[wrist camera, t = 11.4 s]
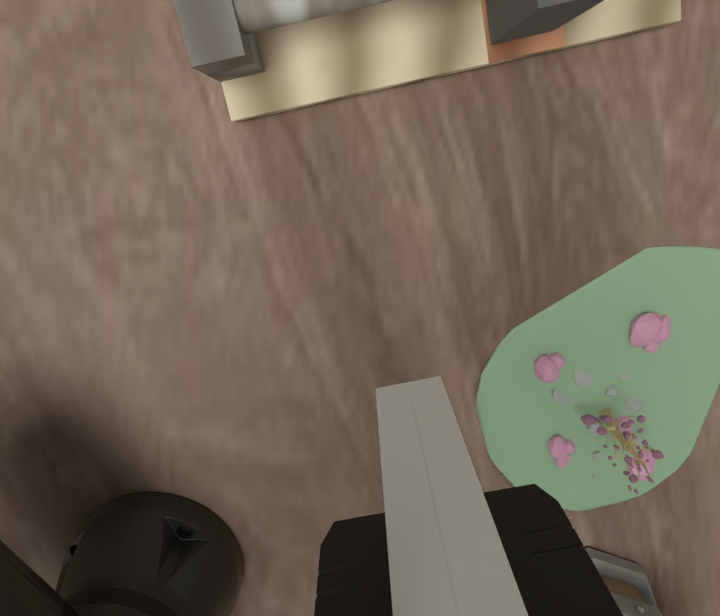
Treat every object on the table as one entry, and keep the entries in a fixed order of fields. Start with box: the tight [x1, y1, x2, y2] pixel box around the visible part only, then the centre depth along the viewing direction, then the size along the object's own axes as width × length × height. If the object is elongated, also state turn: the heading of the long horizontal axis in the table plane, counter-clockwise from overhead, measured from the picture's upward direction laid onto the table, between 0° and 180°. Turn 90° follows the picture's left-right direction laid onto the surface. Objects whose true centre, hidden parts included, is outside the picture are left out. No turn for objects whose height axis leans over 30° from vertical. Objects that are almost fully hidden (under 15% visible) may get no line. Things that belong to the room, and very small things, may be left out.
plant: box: [476, 246, 720, 511], centre depth 39 cm, size 25×21×9 cm
